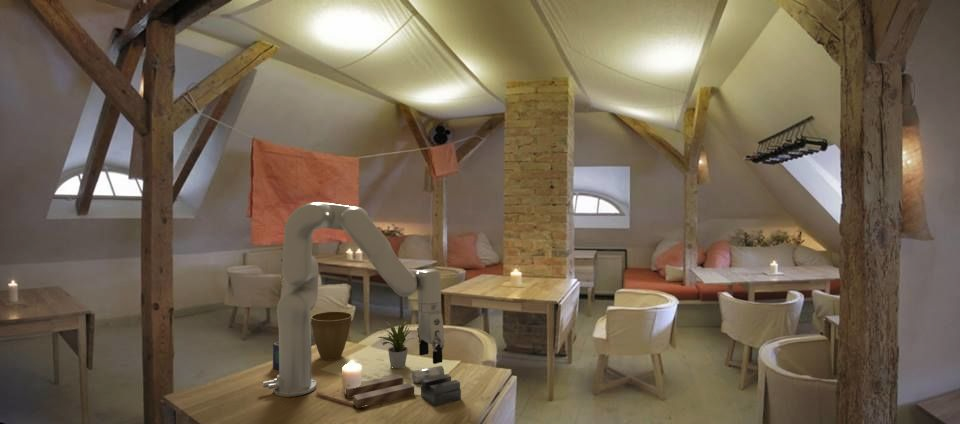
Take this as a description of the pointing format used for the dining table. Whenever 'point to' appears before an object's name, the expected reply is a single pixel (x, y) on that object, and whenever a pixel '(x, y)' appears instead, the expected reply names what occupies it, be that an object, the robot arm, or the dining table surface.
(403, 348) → the house plant
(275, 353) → the flask
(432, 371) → the axle
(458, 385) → the v-block
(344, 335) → the plant pot
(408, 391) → the parallel rectangular beams
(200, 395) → the dining table surface
